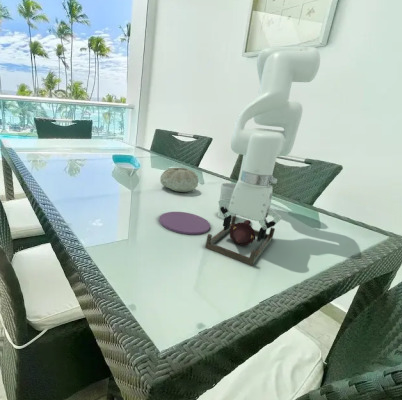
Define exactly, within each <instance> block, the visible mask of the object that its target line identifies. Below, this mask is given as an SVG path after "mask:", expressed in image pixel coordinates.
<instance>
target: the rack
mask: <svg viewBox="0 0 402 400" xmlns="http://www.w3.org/2000/svg"><path fill="white" fill-rule="evenodd" d="M236 220H237V215H236V216H233V217H232V220H231V223H230V227H229V229H230V228H231V226H232V225H234V224H236ZM229 229H227V230H224V228H223V229H221V230H220V231H219V232H218V233H217V234H215V235H214V236H213V235H212V234H211V233H208V234H207V236H206V241H205V249H209V250H211V251H213V252H216V253H218V254H220V255H223V256H226V257H228V258H231V259H233V260H236V261H238V262H241V263H243V264H247V265H248V266H251V267H252V266H254V264H255V263H256V261H257V260H258V259H259V258H260V256H261V255H262V254H263V252H264V251H265V249H266V248H267V247H268V246H269V244H270V243H271V241H273V238H274V234H275V230H276V228H275V227H270V228H269V232H268V233H266V234H265V238H264V239H263V240H264V241H263V242H262V243H261V244H260V246H259V247H258V248H257V249H251V251H250V254H249V257H248V256H246V255H244V254H241V253H238V252H236V251H234V250H231V249H229V248H225V247H223V246H220V245H217V244H216V243H217V242H218V241H220V240H221V239H222V238H223V237H224V236H226V235H227V234H228V233H230V231H229ZM254 232H255V237H258V234H259V230H257V229H254Z"/></svg>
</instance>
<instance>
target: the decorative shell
mask: <svg viewBox="0 0 402 400" xmlns="http://www.w3.org/2000/svg"><path fill="white" fill-rule="evenodd" d="M159 179H160V184H161V185H162V186H164V187H165V188H167V189H170V190H171V191H175V192H180V193H189V192H191V191H193V190H195V189H196V188H197V187H198V185H199V176H198V175H197V174H196V172H195V171H193V170H192V169H189V168H186V167H169V168H168V169H166V170H164V171H163V172H162V173H161V176H160V178H159Z"/></svg>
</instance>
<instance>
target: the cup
mask: <svg viewBox="0 0 402 400" xmlns="http://www.w3.org/2000/svg"><path fill="white" fill-rule="evenodd" d="M236 184H237V183H233V182H222V183H221V185H220V194H219V201H220V200H222V199H227V198H231V197H232V194H233V191H234V189H235V186H236ZM229 204H230V203H225V207H226V208H227V210H228V211H229ZM233 216H236V217H237V215H235V214H231V217H233ZM217 217H218V218H220V219H222V220H224V218H225V217H224V216H223V213H222V212H221V210H220V206H219V205H218V212H217ZM231 221H232V218H231Z"/></svg>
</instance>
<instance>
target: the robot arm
mask: <svg viewBox="0 0 402 400" xmlns="http://www.w3.org/2000/svg"><path fill="white" fill-rule="evenodd" d="M256 61H257V62H256V68H257V75H258V80H259V81H258V82H259V86H258V87H259V88H258V92H257V97H256V98H255V99H254V100H252V101H250V103H248V104H247V105H246V106H245V107H244V108H243V109H242V110H241V112H240V113H239V115H238V116H237V117H236V120H235V124H234V129H233V132H232V137H231V142H230V148H231V150H232V152H233V153H234V154H237V155H241V156H242V155H243V156H242V160H241V165H240V169H239V174H238V179H237V182H236V183H235V184H236V186H235V189H234V191H233V194H232V197H231V198H227V199H222V200H220V199H219V200H218V207H219V206H220V210H221V212H222V213H223V216H224V217H225V218H224V219H223V223H222V226H223V229H224V230H227V229H229V227H230V224H231V221H232V220H231V218H232V217H231V214H235V215H236V216H239V217H242V218H245V219H247V220H252V221H256V222H258V223H259V225H260V228H259V230H258V231H259V234H258V236H256V237H257V238H256V242H258V243H260V242H262V240H265V239H264V238H265V234H267V230H268V229H271V228H273V227H274V226H275V225H277V224H278V223H279V222H280V221H281V220H282V219H283V218H282V216H281V215H280V214H279V213H278V212H277V211H276V210H274V209H273V208H272V207H271V205H272V204H271V203H272V198H273V190H274V189H273V185H271V184H275V185H276V184H277V182H278V178H275V177H274V176H273V172H274V170H275V166H276V162H277V158H278V157H279V156H280V157H286V156H288V155H289V154H291V152H292V150H293V148H294V144H295V141H296V137H297V134H298V130H299V127H300V124H301V120H302V117H303V104H302V103H301V102H299V101H297V100H289V99H290V94H291V88H292V84H293V83H310V82H312V81H313V80H315V78H316V76H317V75H318V72H319V69H320V67H321V66H320V65H321V54H320V51H319V50H318V48H317V47H315V46H268V47H264V48H263V49H261V50H260V51H259V53H258V55H257V60H256ZM251 119H253V121H254V123H255V124H256V125H259V126H265V127H275V128H282V129H283V130H281V129H271V128H260V127H259V128H258V127H255V128H245V127H246V124H247V122H249V121H250V120H251ZM225 203H230V204H229V211H228V210H227V208H226V207H225ZM269 215H270V216H271V217H272V218H273V219H272V220H270V221H269V222H268V220H267V218H268V216H269Z"/></svg>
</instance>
